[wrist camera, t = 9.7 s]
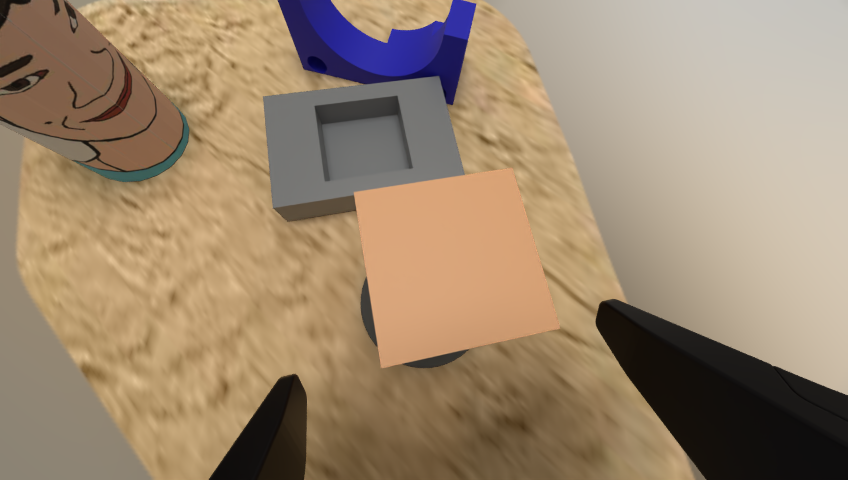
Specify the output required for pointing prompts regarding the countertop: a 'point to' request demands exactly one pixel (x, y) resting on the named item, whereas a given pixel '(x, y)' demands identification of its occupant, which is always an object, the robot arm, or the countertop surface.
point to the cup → (83, 94)
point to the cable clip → (379, 46)
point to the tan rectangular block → (451, 266)
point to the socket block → (356, 143)
